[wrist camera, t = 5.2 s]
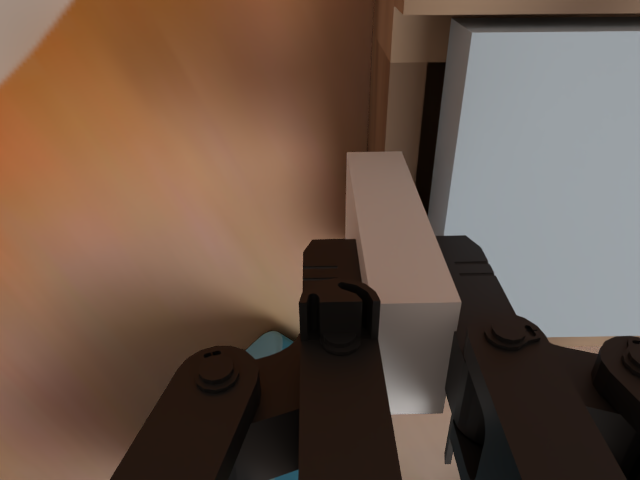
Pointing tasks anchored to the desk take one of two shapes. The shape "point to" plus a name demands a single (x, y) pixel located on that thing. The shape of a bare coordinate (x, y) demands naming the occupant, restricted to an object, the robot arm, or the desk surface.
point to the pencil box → (442, 76)
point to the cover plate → (546, 165)
